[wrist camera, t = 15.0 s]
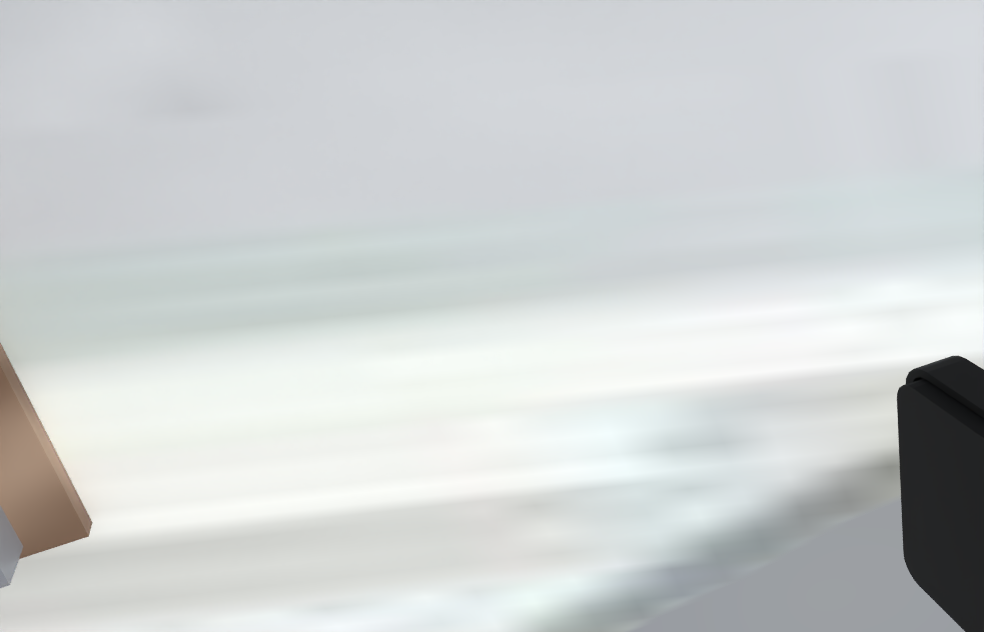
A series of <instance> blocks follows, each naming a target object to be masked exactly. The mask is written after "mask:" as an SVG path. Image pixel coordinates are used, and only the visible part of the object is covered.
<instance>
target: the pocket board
mask: <svg viewBox="0 0 984 632" xmlns="http://www.w3.org/2000/svg"><path fill="white" fill-rule="evenodd" d="M91 525H92V521H91V519H90V517H89V515H88V513H87V511H86V509H85V507H84V506H83V504H82V502H81V500H80V498H79V496H78V494H77V492H76V490H75V488H74V486H73V484H72V482H71V480H70V478H69V476H68V474H67V472H66V470H65V468H64V466H63V464H62V463H61V461H60V459H59V457H58V455H57V453H56V451H55V449H54V447H53V445H52V443H51V441H50V439H49V437H48V435H47V433H46V431H45V429H44V427H43V425H42V423H41V421H40V419H39V418H38V416H37V414H36V412H35V410H34V408H33V406H32V404H31V402H30V400H29V398H28V396H27V394H26V392H25V390H24V388H23V386H22V384H21V382H20V380H19V378H18V376H17V375H16V373H15V371H14V369H13V367H12V365H11V363H10V361H9V359H8V357H7V355H6V353H5V351H4V349H3V347H2V345H1V343H0V588H2V587H5V586H8V585H10V583H11V580H12V577H13V574H14V572H15V569H16V566H17V563H18V560H19V559H20V558H23V557H27V556H30V555H33V554H36V553H39V552H42V551H45V550H48V549H51V548H54V547H57V546H60V545H63V544H67V543H70V542H73V541H76V540H79V539H82V538H85V537H88V536H89V533H90V529H91Z"/></svg>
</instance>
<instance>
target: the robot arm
mask: <svg viewBox="0 0 984 632" xmlns="http://www.w3.org/2000/svg"><path fill="white" fill-rule="evenodd" d="M897 409H898V433H899V456H900V480H901V503H902V526H903V527H902V528H903V550H904V559H905V562H906V565H907V568H908V570H909V572H910V574H911V575H912V577H913V579H914V580H915V581H916V583H917V584H918V585H919V586H920V587H921V588H922V589H923V590H924V591H925V592H926V593H927V594H928V595H929V596H930V597H931V598H932V599H933V600H934V601H935V602H936V603H937V604H938V605H939V606H940V607H941V608H942V609H943V610H944V611H945V612H946V613H947V614H948V615H949V616H950V617H951V618H952V619H953V620H954V621H955V622H956V623H957V624H958V625H959V626H960V627H961V628H962V629H964V631H965V632H984V370H983V369H982V368H980V367H978V366H977V365H975V364H974V363H972V362H970V361H969V360H967V359H965V358H963V357H960V356H951V357H948V358H945V359H942V360H939V361H936V362H933V363H930V364H927V365H924V366H921V367H919V368H916V369H913V370H912V371H910V372H909V374H908V376H907V378H906V385H903V386H901V387H900V388H899V390H898V393H897Z"/></svg>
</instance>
